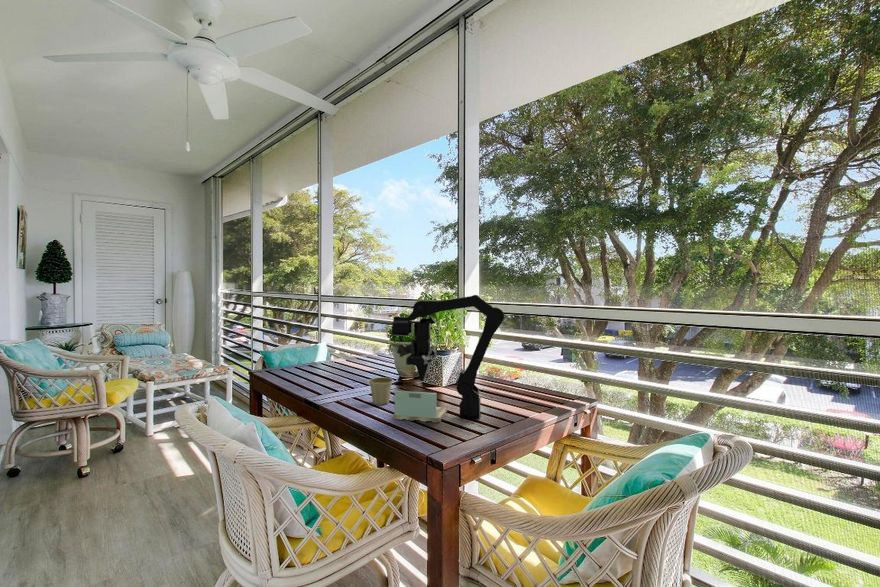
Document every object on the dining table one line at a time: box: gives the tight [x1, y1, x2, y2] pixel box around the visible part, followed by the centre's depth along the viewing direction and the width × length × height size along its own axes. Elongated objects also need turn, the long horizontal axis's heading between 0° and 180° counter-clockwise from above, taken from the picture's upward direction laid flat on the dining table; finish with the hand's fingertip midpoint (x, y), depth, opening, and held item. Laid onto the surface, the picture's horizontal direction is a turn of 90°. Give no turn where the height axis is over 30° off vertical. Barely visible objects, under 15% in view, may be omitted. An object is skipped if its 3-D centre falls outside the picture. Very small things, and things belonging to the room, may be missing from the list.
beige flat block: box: [392, 406, 448, 423], centre depth 146 cm, size 16×12×2 cm
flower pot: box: [368, 377, 394, 405], centre depth 161 cm, size 9×9×9 cm
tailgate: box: [394, 390, 438, 418], centre depth 139 cm, size 14×2×8 cm, turn 77°
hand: (422, 380), depth 147 cm, fingers closed
